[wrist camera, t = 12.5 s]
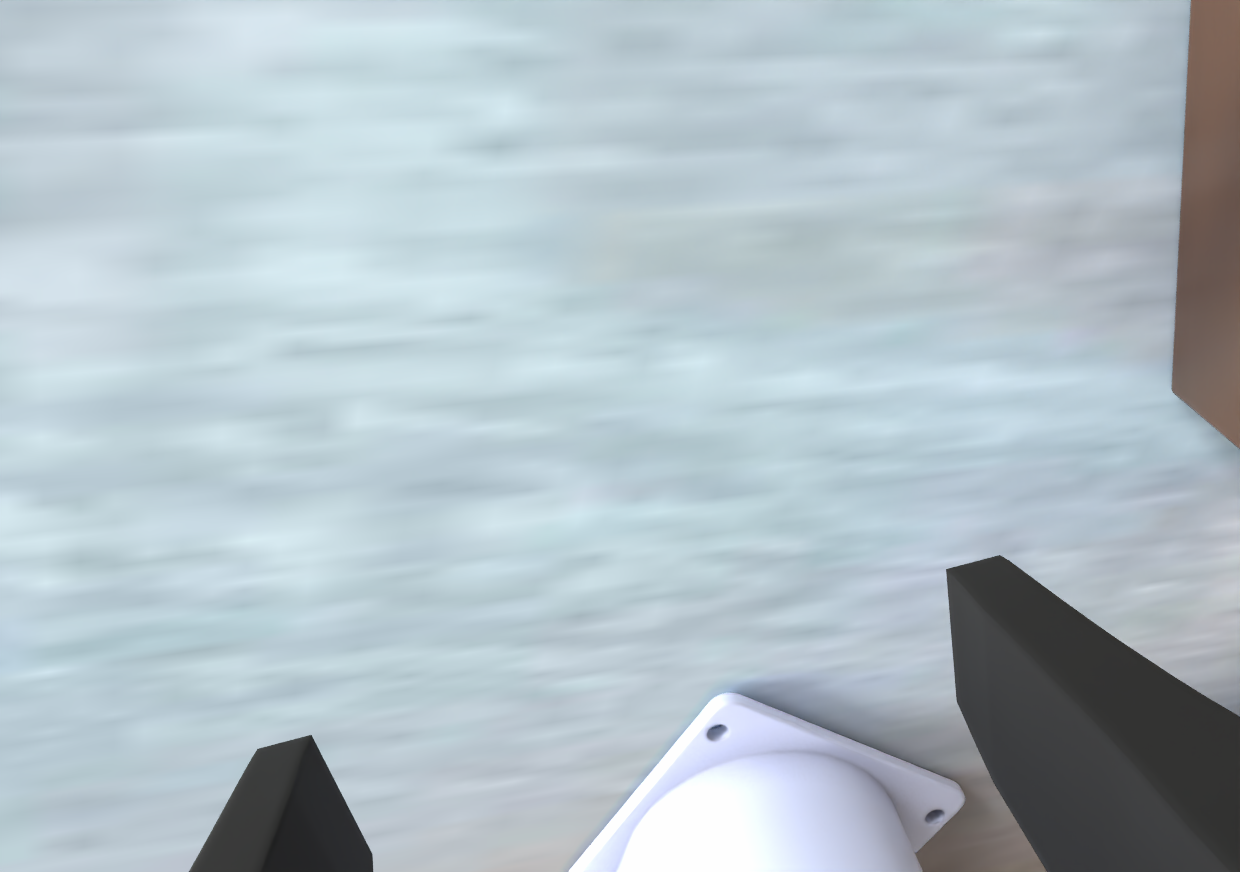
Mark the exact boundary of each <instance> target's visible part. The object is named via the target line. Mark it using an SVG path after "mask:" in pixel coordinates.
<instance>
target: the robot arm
mask: <svg viewBox="0 0 1240 872" xmlns="http://www.w3.org/2000/svg"><path fill="white" fill-rule="evenodd" d="M946 572H947V585H948V597H949V610H950V622H951V635H952V647H953V660H954V672H955V684H956V697H957V703H958V705H959V707H960V709H961V712H962V714H963V716H964V718H965V721H966V723H967V725H968V728H969V730H970V732H971V734H972V737H973V739H974V741H975V743H976V746H977V748H978V750H979V752H980V754H981V756H982V758H983V761H984V763H985V765H986V767H987V769H988V771H989V773H990V776H991V778H992V780H993V782H994V784H995V786H996V787H997V789H998V791H999V792H1000V794H1001V796H1002V797H1003V799H1004V801H1005V803H1006V804H1007V806H1008V808H1009V809H1010V811H1011V813H1012V814H1013V816H1014V818H1015V819H1016V821H1017V823H1018V824H1019V826H1020V828H1021V829H1022V831H1023V833H1024V834H1025V836H1026V838H1027V839H1028V841H1029V843H1030V844H1031V846H1032V848H1033V849H1034V851H1035V852H1036V854H1037V856H1038V857H1039V859H1040V861H1041V862H1042V864H1043V866H1044V867H1045V869H1046V871H1047V872H1240V717H1239V716H1238V715H1236V714H1234V713H1232V712H1231V711H1229V710H1227V709H1226V708H1224V707H1222V706H1221V705H1219V704H1217V703H1216V702H1214V701H1212V700H1211V699H1209V698H1207V697H1206V696H1204V695H1202V694H1201V693H1199V692H1197V691H1196V690H1194V689H1193V688H1191V687H1190V686H1188V685H1186V684H1185V683H1183V682H1182V681H1180V680H1178V679H1177V678H1175V677H1174V676H1172V675H1171V674H1169V673H1168V672H1166V671H1165V670H1163V669H1161V668H1160V667H1158V666H1157V665H1155V664H1154V663H1152V662H1151V661H1149V660H1148V659H1146V658H1145V657H1143V656H1142V655H1140V654H1139V653H1137V652H1136V651H1134V650H1133V649H1131V648H1130V647H1128V646H1127V645H1125V644H1124V643H1122V642H1121V641H1119V640H1118V639H1116V638H1115V637H1114V636H1112V635H1111V634H1109V633H1108V632H1106V631H1105V630H1103V629H1102V628H1101V627H1099V626H1098V625H1096V624H1095V623H1094V622H1092V621H1091V620H1089V619H1088V618H1087V617H1085V616H1084V615H1082V614H1081V613H1080V612H1078V611H1077V610H1075V609H1074V608H1073V607H1071V606H1070V605H1068V604H1067V603H1066V602H1064V601H1063V600H1062V599H1060V598H1059V597H1057V596H1056V595H1055V594H1053V593H1052V592H1051V591H1049V590H1048V589H1047V588H1045V587H1044V586H1043V585H1041V584H1040V583H1038V582H1037V581H1036V580H1034V579H1033V578H1032V577H1030V576H1029V575H1028V574H1026V573H1025V572H1024V571H1022V570H1021V569H1020V568H1018V567H1017V566H1016V565H1014V564H1013V563H1011V562H1010V561H1009V560H1007V559H1005V558H1004V557H1002V556H1000V555H999V556H995V557H991V558H987V559H984V560H980V561H976V562H972V563H968V564H964V565H961V566H957V567H953V568H949V569H946ZM716 725H722V726H721V727H719V728H716V729H710V728H711V727H713V726H716ZM964 803H965V796H964V793H963V791H962V789H961V787H960V785H959V784H958V783H956V782H955V781H953V780H950V779H948V778H945V777H943V776H940V775H938V774H935V773H933V772H930V771H928V770H925V769H923V768H921V767H918V766H916V765H913V764H911V763H908V762H906V761H903V760H901V759H898V758H896V757H893V756H891V755H889V754H886V753H884V752H881V751H879V750H876V749H874V748H871V747H869V746H866V745H864V744H861V743H859V742H857V741H854V740H852V739H849V738H847V737H844V736H842V735H839V734H837V733H834V732H832V731H829V730H827V729H824V728H822V727H820V726H817V725H815V724H812V723H810V722H807V721H805V720H802V719H800V718H797V717H795V716H792V715H790V714H788V713H785V712H783V711H780V710H778V709H775V708H773V707H770V706H768V705H765V704H763V703H760V702H758V701H755V700H753V699H751V698H748V697H746V696H743V695H741V694H737V693H733V692H730V693H723V694H720V695H718V696H716V697H715V698H713V699H712V700H711V701H710V702H709V703H708V704H707V706H706V707H705V708H704V709H703V710H702V712H701V713H700V714H699V715H698V716H697V718H696V719H695V720H694V721H693V722H692V724H691V725H690V726H689V727H688V728H687V730H686V731H685V732H684V733H683V734H682V736H681V737H680V738H679V739H678V740H677V742H676V743H675V744H674V745H673V746H672V748H671V749H670V750H669V751H668V752H667V754H666V755H665V756H664V757H663V758H662V760H661V761H660V762H659V763H658V764H657V766H656V767H655V768H654V769H653V770H652V772H651V773H650V774H649V775H648V776H647V778H646V779H645V780H644V781H643V782H642V784H641V785H640V786H639V787H638V788H637V790H636V791H635V792H634V793H633V794H632V796H631V797H630V798H629V799H628V800H627V802H626V803H625V804H624V805H623V806H622V808H621V809H620V810H619V811H618V812H617V814H616V815H615V816H614V817H613V819H612V820H611V821H610V822H609V823H608V825H607V826H606V827H605V828H604V829H603V831H602V832H601V833H600V834H599V835H598V837H597V838H596V839H595V840H594V841H593V843H592V844H591V845H590V846H589V847H588V849H587V850H586V851H585V852H584V853H583V855H582V856H581V857H580V858H579V859H578V861H577V862H576V863H575V864H574V865H573V867H572V868H571V869H570V870H569V871H568V872H923V871H922V868H921V866H920V864H919V862H918V859H917V857H916V855H915V854H916V853H917V852H918V851H919V850H920V849H921V848H922V847H923V846H924V845H925V844H926V843H927V842H928V841H929V840H930V839H931V838H932V837H933V836H934V835H935V834H936V833H937V832H938V831H939V830H940V829H941V828H942V827H943V826H944V825H945V824H946V823H947V822H948V821H949V820H950V819H951V818H952V817H953V816H954V815H955V814H956V813H957V812H958V811H959V810H960V809H961V807H962V806H963V804H964ZM189 872H373V858H372V853H371V851H370V849H369V847H368V845H367V843H366V841H365V839H364V837H363V835H362V833H361V831H360V829H359V827H358V825H357V823H356V821H355V819H354V817H353V816H352V814H351V812H350V810H349V808H348V806H347V804H346V802H345V800H344V798H343V796H342V794H341V792H340V790H339V788H338V786H337V784H336V782H335V780H334V778H333V776H332V774H331V773H330V771H329V769H328V767H327V765H326V763H325V761H324V759H323V757H322V755H321V753H320V751H319V749H318V747H317V745H316V743H315V741H314V739H313V737H312V735H309V736H306V737H302V738H298V739H294V740H290V741H286V742H283V743H279V744H275V745H271V746H267V747H263V748H260V749H257V751H256V753H255V754H254V756H253V757H252V759H251V761H250V762H249V764H248V766H247V768H246V770H245V771H244V773H243V775H242V777H241V778H240V780H239V782H238V784H237V786H236V787H235V789H234V791H233V793H232V795H231V797H230V798H229V800H228V802H227V804H226V806H225V808H224V809H223V811H222V813H221V815H220V817H219V819H218V820H217V822H216V824H215V826H214V828H213V830H212V831H211V833H210V835H209V837H208V839H207V840H206V842H205V844H204V846H203V848H202V849H201V851H200V853H199V855H198V857H197V858H196V860H195V862H194V864H193V866H192V867H191V869H190V871H189Z"/></svg>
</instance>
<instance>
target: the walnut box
mask: <svg viewBox="0 0 1240 872" xmlns="http://www.w3.org/2000/svg"><path fill="white" fill-rule="evenodd" d="M1172 391H1173V393H1174V394H1175V395H1177V396H1178V397H1179V398H1180V399H1181V400H1182V401H1184V402H1185V403H1186V404H1187V405H1188V406H1189V407H1191V408H1192V409H1193V410H1194V411H1195V412H1197V413H1198V414H1199V415H1200V416H1201V417H1202V418H1204V419H1205V420H1206V421H1207V422H1208V423H1209V424H1211V425H1212V426H1213V427H1214V428H1215V429H1216V430H1218V431H1219V432H1220V433H1221V434H1222V435H1224V436H1225V437H1226V438H1227V439H1228V440H1229V441H1231V442H1232V443H1233V444H1234V445H1235V446H1236V447H1238V448H1239V449H1240V0H1191V9H1190V29H1189V49H1188V70H1187V90H1186V110H1185V130H1184V150H1183V170H1182V191H1181V211H1180V231H1179V251H1178V271H1177V291H1176V312H1175V332H1174V352H1173V372H1172Z"/></svg>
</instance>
